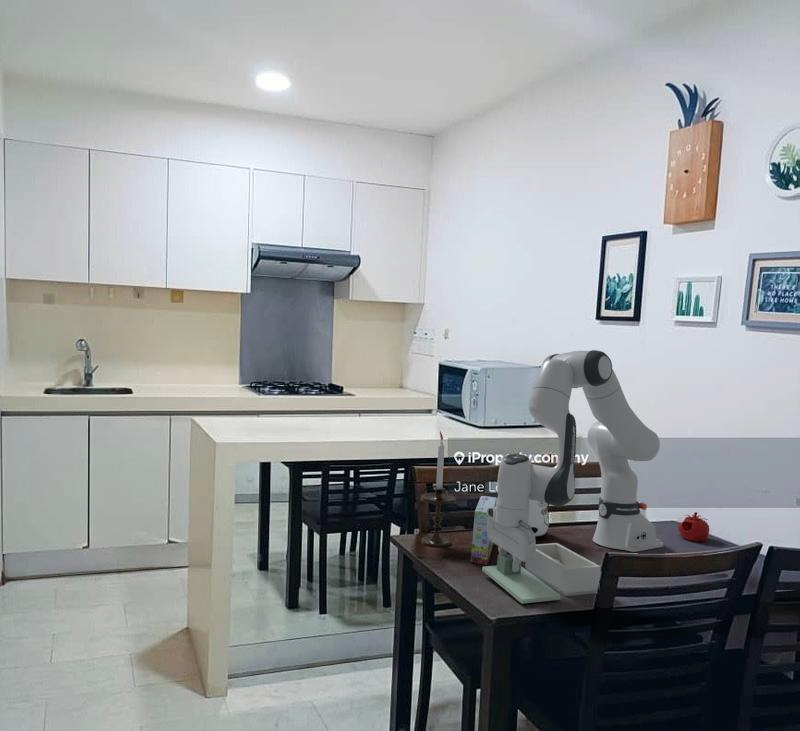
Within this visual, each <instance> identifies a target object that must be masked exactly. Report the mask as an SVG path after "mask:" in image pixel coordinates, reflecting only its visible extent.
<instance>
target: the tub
mask: <svg viewBox="0 0 800 731" xmlns="http://www.w3.org/2000/svg"><path fill="white" fill-rule="evenodd" d="M524 567H525V568H524V569H526V570H527V571H528V572H530V573H531V574H532V575H534V576H535V577H536V578H538V579H539V580H540V581H542V582H543V583H545V584H546V585H547V586H549V587H550V588H551V589H553V590H554V591H556V592H557V593H560V595H562V596H564V597H574V596H575V597H576V596H583V595H584V596H585V595H593V594H597V593H596V592H597V588H598V583H599V580H600V579H601V566H600V565H599V564H598V563H597V564H596V563H595V562H593V561H591V560H589V559H587V558H586V557H584V556H582V555H581V554H578V553H577V552H575V551H573V550H571V549H569V548H567V547H566V546H564V545H562V544H560V543H558V542H551V543H541V544H540V543H538V544H536V557H535V559H534V561H529V562H525V565H524ZM599 584H600V583H599Z"/></svg>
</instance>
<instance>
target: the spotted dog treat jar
mask: <svg viewBox="0 0 800 731" xmlns="http://www.w3.org/2000/svg"><path fill="white" fill-rule="evenodd" d="M529 504H530V509H529V524H528V525H530V526H531V529H532V531H533V533H534V535H535V539H537V538H540V537H544V536H545V535H546V534H547V532H548V531H549V530H548V529H549V526H550V517H549V513H548V504H547V503H544V502H539V501H534V500H530V499H529Z"/></svg>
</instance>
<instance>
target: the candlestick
mask: <svg viewBox="0 0 800 731" xmlns="http://www.w3.org/2000/svg"><path fill="white" fill-rule="evenodd" d="M439 437H440V443H439V444H438V447H437V450H438V451H437V462H436V463H437V464H436V465H437V467H436V486H435V487H434V486H433V487H432V489H433V490H435V492H426V493H422V494H420V500H421V501H422V502H424V503H427V504H433V505H434V506H435V516H433V517H432V520H433V522H434V525H433V526H432V528H433V529H434V533H433V535H425V536H423V537H422V538H421V544H422V545H425V546H427V547H432V548H445V547H446V546H447V547H449V546H451V544H452V543H451V542H452V539H450V538H448V537H447V536H443V535H441V534H440V529H441V528H442V526H441V525H440V523H441V522H442V520H443V518H442V517H441V506H444V505H452V504H455V503H457V497H456V496H455V495H453V494H450V493H445V492H443V491H444V490H446V488H445V487H443V481H444V480H443V479H444V464H445V462H444V460H445V445H444V443H443V442H444V441H443V440H444V436H443V434H442V432H441V430H439ZM447 547H446V548H447Z"/></svg>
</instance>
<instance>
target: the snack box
mask: <svg viewBox="0 0 800 731" xmlns="http://www.w3.org/2000/svg"><path fill="white" fill-rule="evenodd" d="M497 498H498V497H496V496H495V497H493V496H487V495H481V496H480V498H479V500H478V503H477V505H476V508H475V510H474V519H473V531H472V542H471V554H470V563H473V564H480V565H485V566H487V565H489V560H490V557H491V553H492V550H493V547H494V543H493V542H491V541H490V540H489V539H488V536H487V520H488V517H489V516H488V515H487V508H489V507H496V501H497Z"/></svg>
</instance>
